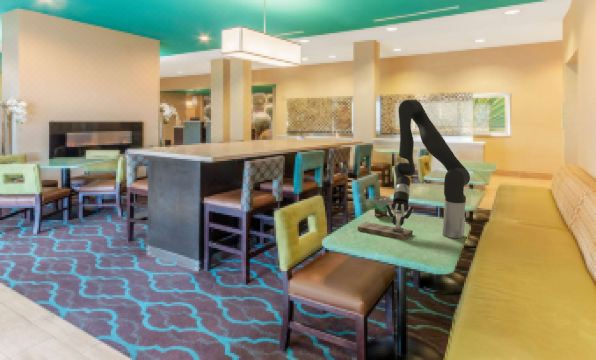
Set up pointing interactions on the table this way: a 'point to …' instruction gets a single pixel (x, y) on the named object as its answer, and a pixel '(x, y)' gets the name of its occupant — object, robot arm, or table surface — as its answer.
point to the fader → (398, 221)
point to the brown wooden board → (384, 230)
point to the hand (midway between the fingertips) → (397, 224)
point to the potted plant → (381, 207)
